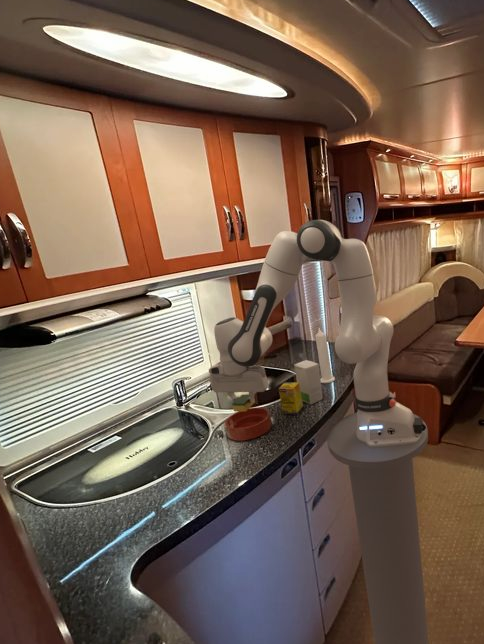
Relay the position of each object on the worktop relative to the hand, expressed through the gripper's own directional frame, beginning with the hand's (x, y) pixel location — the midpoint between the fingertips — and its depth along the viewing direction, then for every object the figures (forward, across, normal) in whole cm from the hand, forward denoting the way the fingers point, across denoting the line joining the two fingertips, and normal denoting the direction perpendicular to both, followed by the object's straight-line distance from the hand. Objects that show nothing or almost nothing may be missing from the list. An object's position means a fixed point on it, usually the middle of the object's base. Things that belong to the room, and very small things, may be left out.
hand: (243, 402), depth 130 cm
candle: (+11, -16, -43) cm, 47 cm away
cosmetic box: (+11, -15, -24) cm, 30 cm away
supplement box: (+11, -11, -14) cm, 21 cm away
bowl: (+11, 0, 0) cm, 11 cm away
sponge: (+2, 0, 0) cm, 2 cm away
